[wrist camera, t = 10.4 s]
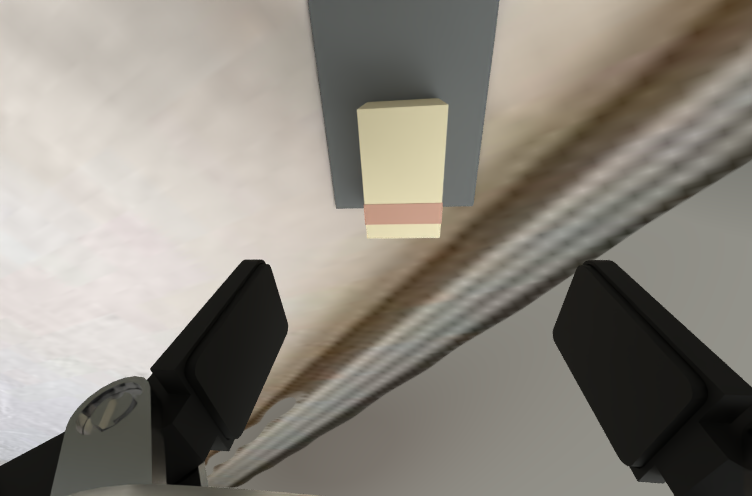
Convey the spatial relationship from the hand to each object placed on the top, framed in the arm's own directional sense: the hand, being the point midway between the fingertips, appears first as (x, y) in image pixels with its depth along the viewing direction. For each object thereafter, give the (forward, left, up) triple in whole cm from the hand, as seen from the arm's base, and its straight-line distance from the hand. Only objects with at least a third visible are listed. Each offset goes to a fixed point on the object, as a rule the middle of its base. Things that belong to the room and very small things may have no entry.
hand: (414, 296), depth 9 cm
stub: (0, 0, -18) cm, 18 cm away
